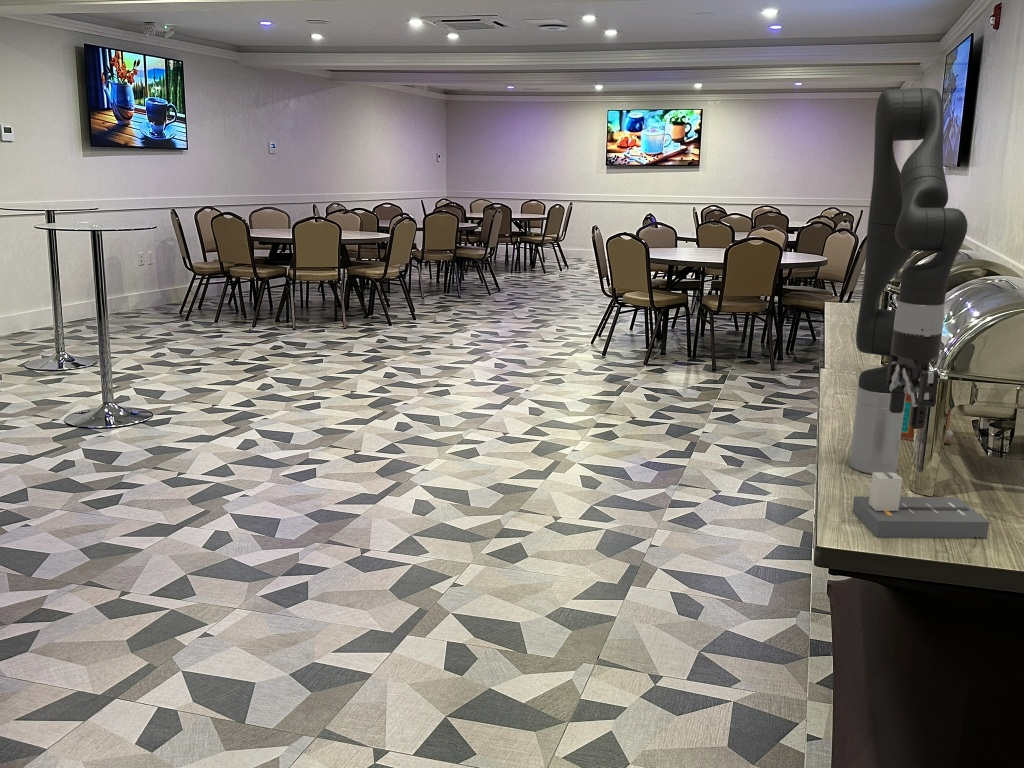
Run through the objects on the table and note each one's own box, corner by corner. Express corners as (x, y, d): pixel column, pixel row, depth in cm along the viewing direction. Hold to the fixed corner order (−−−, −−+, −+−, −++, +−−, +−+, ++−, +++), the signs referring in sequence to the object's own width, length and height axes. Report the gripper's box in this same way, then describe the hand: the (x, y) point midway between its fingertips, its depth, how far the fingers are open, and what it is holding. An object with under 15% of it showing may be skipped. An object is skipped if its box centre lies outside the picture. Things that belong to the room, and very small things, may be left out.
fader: (868, 504, 157) (872, 470, 156) (891, 504, 157) (895, 470, 156) (875, 510, 154) (879, 476, 153) (898, 510, 154) (902, 477, 153)
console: (852, 511, 162) (854, 495, 161) (955, 512, 162) (958, 496, 161) (876, 537, 151) (878, 520, 151) (986, 538, 151) (989, 521, 151)
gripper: (878, 319, 155) (868, 407, 160) (913, 337, 142) (901, 433, 146) (921, 319, 155) (910, 408, 160) (960, 337, 142) (946, 433, 146)
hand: (905, 420), depth 153 cm, fingers open, 8 cm apart
